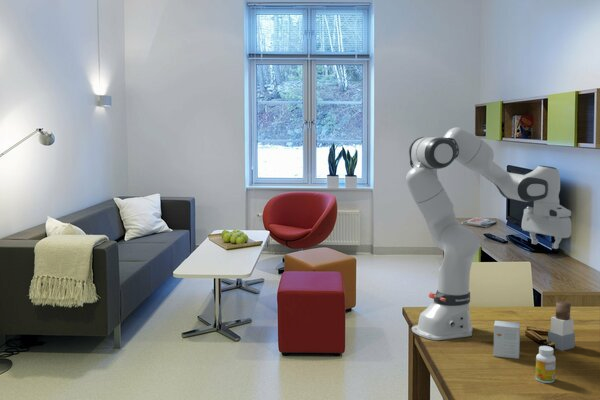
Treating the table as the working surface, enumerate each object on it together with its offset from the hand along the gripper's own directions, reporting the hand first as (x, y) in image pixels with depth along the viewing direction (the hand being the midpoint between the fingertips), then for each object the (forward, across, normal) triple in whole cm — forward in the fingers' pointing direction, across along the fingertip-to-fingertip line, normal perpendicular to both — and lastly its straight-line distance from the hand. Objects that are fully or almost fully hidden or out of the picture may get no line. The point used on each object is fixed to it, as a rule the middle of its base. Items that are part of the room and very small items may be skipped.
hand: (544, 246), depth 237 cm
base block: (+29, +21, -15) cm, 39 cm away
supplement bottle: (+29, +38, -42) cm, 64 cm away
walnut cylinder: (+19, +22, -15) cm, 33 cm away
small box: (+29, +18, -37) cm, 51 cm away
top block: (+24, +22, -15) cm, 36 cm away
